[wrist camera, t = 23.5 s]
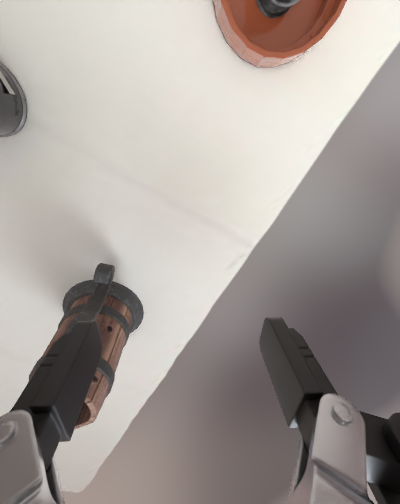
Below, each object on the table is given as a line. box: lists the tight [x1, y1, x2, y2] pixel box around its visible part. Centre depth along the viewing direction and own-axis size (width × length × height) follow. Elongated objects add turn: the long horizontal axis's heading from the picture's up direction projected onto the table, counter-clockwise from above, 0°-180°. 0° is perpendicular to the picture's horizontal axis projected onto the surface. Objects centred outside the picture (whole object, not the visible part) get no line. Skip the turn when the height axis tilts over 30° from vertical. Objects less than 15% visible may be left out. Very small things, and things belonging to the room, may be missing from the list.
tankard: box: [28, 263, 144, 429], centre depth 38 cm, size 24×17×20 cm
